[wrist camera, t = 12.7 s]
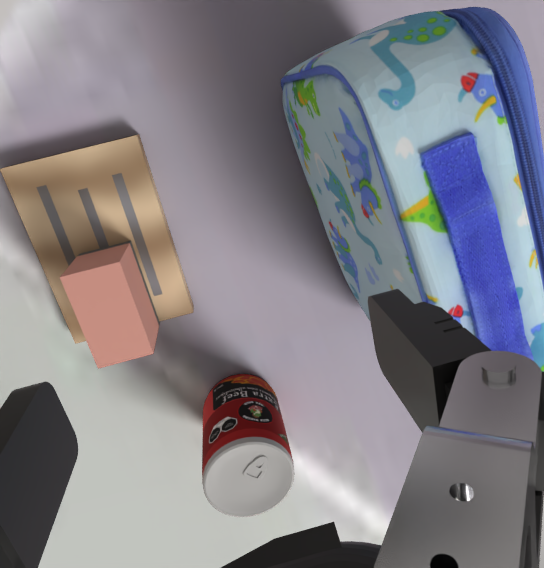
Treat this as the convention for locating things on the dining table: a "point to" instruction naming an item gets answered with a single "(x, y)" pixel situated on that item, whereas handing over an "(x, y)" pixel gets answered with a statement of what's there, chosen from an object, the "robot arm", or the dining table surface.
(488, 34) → the lunch box
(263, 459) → the canned food
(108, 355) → the block
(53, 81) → the dining table surface
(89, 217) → the board
